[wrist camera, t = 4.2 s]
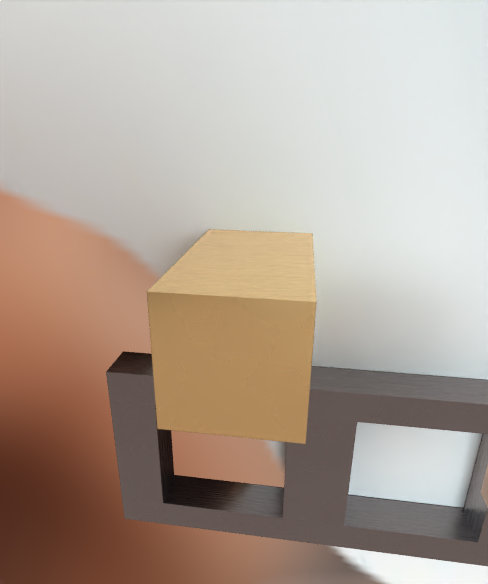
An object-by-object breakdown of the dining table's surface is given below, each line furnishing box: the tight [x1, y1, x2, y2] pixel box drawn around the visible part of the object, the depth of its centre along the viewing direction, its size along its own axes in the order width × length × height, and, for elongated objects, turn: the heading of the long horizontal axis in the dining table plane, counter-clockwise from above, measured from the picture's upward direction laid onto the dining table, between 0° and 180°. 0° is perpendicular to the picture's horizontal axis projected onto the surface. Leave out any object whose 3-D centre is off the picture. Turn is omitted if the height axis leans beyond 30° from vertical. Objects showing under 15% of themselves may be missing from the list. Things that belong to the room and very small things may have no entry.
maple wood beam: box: [147, 229, 316, 444], centre depth 16 cm, size 5×5×8 cm
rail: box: [106, 352, 488, 566], centre depth 21 cm, size 30×9×2 cm, turn 90°
